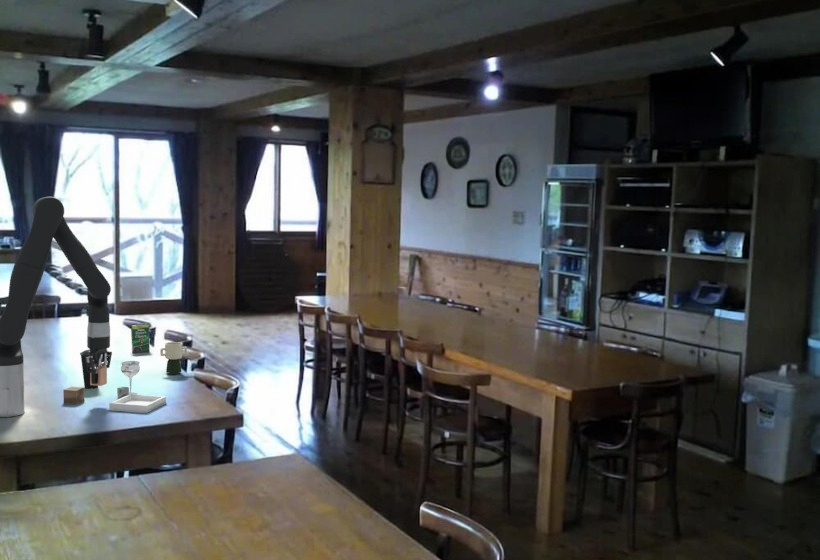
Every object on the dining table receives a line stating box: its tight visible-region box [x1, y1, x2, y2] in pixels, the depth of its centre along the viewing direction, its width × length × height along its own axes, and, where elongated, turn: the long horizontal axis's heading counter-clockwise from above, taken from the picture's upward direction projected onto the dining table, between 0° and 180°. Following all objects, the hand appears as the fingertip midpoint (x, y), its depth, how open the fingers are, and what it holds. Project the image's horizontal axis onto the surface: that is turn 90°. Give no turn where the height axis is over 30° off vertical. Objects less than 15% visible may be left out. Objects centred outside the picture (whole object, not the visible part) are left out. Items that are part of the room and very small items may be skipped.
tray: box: [108, 393, 167, 414], centre depth 282 cm, size 14×14×2 cm
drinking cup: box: [79, 348, 99, 390], centre depth 308 cm, size 8×8×20 cm
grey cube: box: [116, 386, 130, 400], centre depth 292 cm, size 4×4×4 cm
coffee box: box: [130, 324, 151, 354], centre depth 382 cm, size 8×3×13 cm, turn 118°
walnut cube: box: [62, 386, 85, 405], centre depth 286 cm, size 5×5×5 cm
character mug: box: [159, 341, 188, 375], centre depth 336 cm, size 11×7×13 cm, turn 118°
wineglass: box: [120, 360, 141, 394], centre depth 299 cm, size 7×7×12 cm
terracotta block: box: [90, 367, 108, 387], centre depth 283 cm, size 4×4×6 cm
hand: (98, 382), depth 283 cm, fingers closed on terracotta block, 4 cm apart
